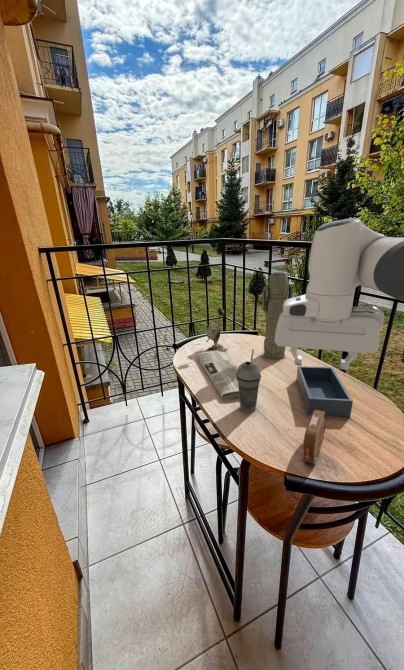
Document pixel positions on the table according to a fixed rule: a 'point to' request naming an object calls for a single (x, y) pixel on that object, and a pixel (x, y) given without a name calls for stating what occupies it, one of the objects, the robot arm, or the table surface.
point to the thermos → (274, 311)
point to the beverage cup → (248, 385)
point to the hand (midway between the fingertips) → (320, 366)
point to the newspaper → (220, 372)
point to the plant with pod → (215, 333)
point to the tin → (314, 436)
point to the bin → (323, 391)
